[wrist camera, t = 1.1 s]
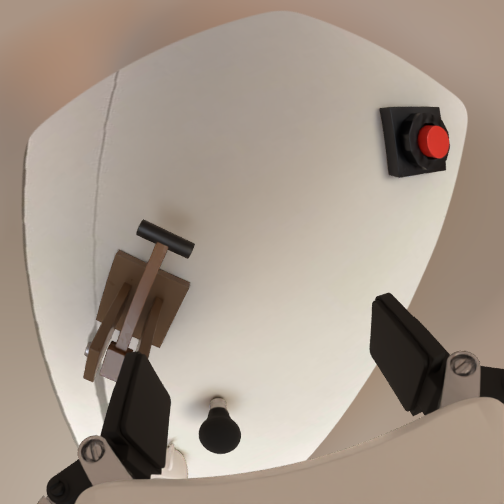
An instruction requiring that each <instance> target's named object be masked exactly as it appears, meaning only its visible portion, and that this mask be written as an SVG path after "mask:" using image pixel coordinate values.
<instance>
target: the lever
mask: <svg viewBox="0 0 504 504" xmlns="http://www.w3.org/2000/svg"><path fill="white" fill-rule="evenodd" d="M136 235H138V236H140V237H142V238H144V239H146V240H149V241H151V242H153V243H155V244H156V245H155V247H154V250H153V252H152V254H151V256H150V259H149V261H148V263H147V266H146V268H145V270H144V273H143V275H142V278H141V280H140V282H139V285H138V287H137V290H136V292H135V295H134V297H133V300H132V302H131V305H130V307H129V310H128V313H127V315H126V318H125V321H124V323H123V326H122V329H121V332H120V335H119V337H118V340H117V343H116V342H114V341H111V343H110V345H109V347H108V349H107V352H106V355H105V358H104V361H103V364H102V368H101V371H100V375H101V376H103V377H106V378H108V379H110V380H113V381H115V382H117V379H118V375H119V372H120V369H121V366H122V363H123V360H124V357H125V354H126V353H130V352H133V350H132V349H130V348H128V346H129V344H130V341H131V338H132V335H133V333H134V330H135V327H136V325H137V322H138V320H139V317H140V314H141V312H142V309H143V307H144V304H145V302H146V299H147V297H148V294H149V292H150V289H151V287H152V285H153V282H154V280H155V277H156V275H157V273H158V270H159V268H160V266H161V263H162V261H163V259H164V257H165V254H166V252H167V250H170V251H172V252H174V253H176V254H178V255H181V256H183V257H185V258H187V259H188V258H189V257H190V255H191V253H192V251H193V248H194V245H195V244H194V243H192V242H190V241H188V240H186V239H184V238H182V237H179V236H177V235H175V234H173V233H171V232H169V231H167V230H165V229H163V228H160V227H158V226H156V225H154V224H152V223H150V222H148V221H146V220H144V219H143V220H142V222H141V223H140V225H139V227H138V230H137V233H136Z"/></svg>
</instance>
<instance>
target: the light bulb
mask: <svg viewBox="0 0 504 504" xmlns="http://www.w3.org/2000/svg"><path fill="white" fill-rule="evenodd" d="M199 439H200V442H201V443H202V445H203V446H204V447H205V448H206V449H207V450H209V451H210V452H213V453H217V454H225V453H228V452H231V451H232V450H234V449H235V448H236V447H237V446H238V444H239V442H240V439H241V432H240V429H239V427H238V425H237V424H236V423H235V422H234V421H233V420H232V419H231V418H230V416H229V413H228V411H227V409H226V401H225V400H223V399H221V398H215V399H213V400H211V402H210V411H209V414H208V418H207V419H206V420H205V421H204V422H203V424H202V425H201V427H200V429H199Z"/></svg>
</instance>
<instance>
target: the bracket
mask: <svg viewBox="0 0 504 504" xmlns="http://www.w3.org/2000/svg"><path fill="white" fill-rule="evenodd" d="M146 266H147V263H146V262H144V261H141V260H139V259H137V258H135V257H133V256H131V255H129V254H127V253H125V252H123V251H121V250H119V251H118V252H117V253H116V255H115V258H114V261H113V264H112V267H111V270H110V273H109V276H108V279H107V282H106V286H105V289H104V292H103V296H102V299H101V303H100V306H99V310H98V314H97V318H96V320H98V321H100V322H102V324H101V325H100V327H99V329H98V331H97V333H96V335H95V337H94V339H93V341H92V343H91V342H89V343H88V345H87V347H86V350H85V356H87V361H86V366H85V371H84V376H83V378H84V379H86V380H89V381H91V382H93V381H94V378H95V376H96V373H97V371H98V368H99V366H100V363H101V361H102V358H103V356H104V353H105V351H106V349H107V346H108V344H109V342H110V339H111V337H112V335H113V332H114V330H115V329H117V330H119V331H121V329H122V326H123V323H124V321H125V318H126V315H127V313H128V310H129V307H130V305H131V302H132V300H133V297H134V295H135V292H136V290H137V287H138V285H139V282H140V280H141V278H142V275H143V273H144V270H145V268H146ZM189 286H190V282H187V281H185V280H183V279H181V278H178V277H176V276H174V275H172V274H169V273H167V272H165V271H163V270H161V269H159V270H158V273H157V275H156V277H155V280H154V282H153V285H152V287H151V289H150V292H149V294H148V297H147V299H146V302H145V304H144V307H143V309H142V312H141V314H140V317H139V320H138V322H137V325H136V327H135V330H134V333H133V335H132V337H135V338H137V339H139V342H138V345H137V348H136V352H137V351H139V352H141V353H142V354H145V355H146V356H147V358H148V357H149V353H150V349H151V345H154V346H156V347H159V348H160V346H161V344H162V342H163V340H164V338H165V336H166V334H167V332H168V330H169V327H170V325H171V323H172V321H173V319H174V317H175V315H176V313H177V311H178V309H179V307H180V305H181V303H182V301H183V299H184V297H185V295H186V293H187V291H188V289H189Z"/></svg>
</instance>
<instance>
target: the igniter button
mask: <svg viewBox="0 0 504 504" xmlns="http://www.w3.org/2000/svg"><path fill="white" fill-rule="evenodd" d="M418 145H419V148H420V150H421V152H422V153H423V154H424V155H426V156H428V157H433V158H443V157H444V156H445V155H446V154H447V152H448V149H449V139H448V135H447V133H446V132H445V130H444V129H443V128H442V127H440V126H431V125H426V126H424V127H422V128H421V129H420V131H419V134H418Z"/></svg>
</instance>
